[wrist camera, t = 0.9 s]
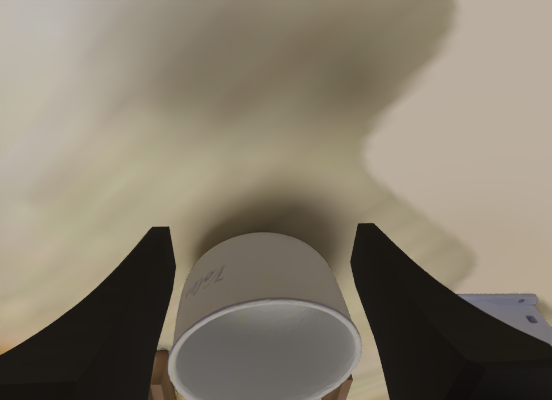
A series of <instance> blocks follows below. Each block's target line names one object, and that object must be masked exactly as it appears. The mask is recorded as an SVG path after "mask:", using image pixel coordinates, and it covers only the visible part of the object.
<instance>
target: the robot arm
mask: <svg viewBox="0 0 552 400" xmlns="http://www.w3.org/2000/svg"><path fill="white" fill-rule="evenodd" d="M350 263H351V268H352V273H353V277H354V282H355V286H356V289H357V291H358V294H359V297H360V300H361V303H362V305H363V308H364V311H365V314H366V316H367V319H368V322H369V325H370V327H371V330H372V333H373V335H374V339H375V342H376V345H377V348H378V352H379V356H380V360H381V364H382V368H383V372H384V377H385V381H386V385H387V390H388V394H389V398H390V400H552V327H551V326H550V325H549V323H548V322H547V321H546V320H545V319H544V317H543V316H542V315H541V314H540V312H539V311H538V310H537V309H536V308H535V306H534V305H535V304H536V302H537V301H538V297H537V296H536V295H535V294H455V293H454V292H452V291H451V290H449V289H448V288H447V287H445V286H444V285H442V284H441V283H440V282H438V281H437V280H436V279H434V278H433V277H432V276H431V275H429V274H428V273H427V272H426V271H424V270H423V269H422V268H421V267H420V266H418V265H417V264H416V263H415V262H414V261H413V260H412V259H410V258H409V257H408V256H407V255H406V254H405V253H404V252H403V251H402V250H401V249H400V248H399V247H398V246H396V245H395V244H394V243H393V242H392V241H391V240H390V239H389V238H388V237H387V236H386V235H385V234H384V233H383V232H382V231H381V230H380V229H379V228H378V227H377V226H376V225H375V224H374V223H358V227H357V231H356V236H355V241H354V246H353V251H352V256H351V261H350ZM175 270H176V263H175V258H174V252H173V246H172V240H171V235H170V229H169V227H152V228H151V229H150V230H149V231H148V232H147V233H146V235H145V236H144V237H143V238H142V239H141V241H140V242H139V243H138V244H137V245H136V247H135V248H134V249H133V250H132V251H131V252H130V253H129V255H128V256H127V257H126V258H125V259H124V260H123V261H122V262H121V263H120V265H119V266H118V267H117V268H116V269H115V270H114V271H113V272H112V273H111V274H110V275H109V276H108V277H107V278H106V279H105V280H104V281H103V282H102V283H101V284H100V285H99V286H98V287H97V288H95V289H94V290H93V291H92V292H91V293H90V294H89V295H88V296H86V297H85V298H84V299H83V300H82V301H81V302H79V303H78V304H77V305H76V306H74V307H73V308H72V309H70V310H69V311H68V312H66V313H65V314H64V315H62V316H61V317H60V318H58V319H57V320H56V321H54V322H53V323H51V324H50V325H49V326H47V327H46V328H44V329H43V330H41V331H40V332H38V333H37V334H35V335H33V336H32V337H30V338H29V339H27V340H26V341H24V342H22V343H21V344H19V345H17V346H16V347H14V348H12V349H11V350H9V351H7V352H5V353H4V354H2V355H0V400H148V396H149V390H150V383H151V377H152V371H153V365H154V359H155V354H156V350H157V346H158V342H159V338H160V335H161V331H162V327H163V324H164V320H165V317H166V313H167V310H168V306H169V302H170V298H171V295H172V291H173V285H174V278H175Z"/></svg>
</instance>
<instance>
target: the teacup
mask: <svg viewBox="0 0 552 400" xmlns="http://www.w3.org/2000/svg"><path fill="white" fill-rule="evenodd" d="M361 352H362V344H361V338H360V334H359V332H358V330H357V328H356V326H355V325H354V323H353V322H352V320H351V317H350V314H349V311H348V309H347V306H346V303H345V300H344V298H343V295H342V293H341V291H340V288H339V286H338V283H337V281H336V279H335V276H334V274H333V273H332V271H331V269H330V267H329V265H328V264H327V262H326V261H325V259H324V258H323V257H322V256H321V255H320V254H319V253H318V252H317V251H316V250H315V249H313V248H312V247H311V246H310V245H308V244H306V243H305V242H303V241H301V240H298V239H296V238H294V237H291V236H288V235H284V234H278V233H270V232H256V233H248V234H244V235H240V236H236V237H233V238H230V239H228V240H225V241H223V242H221V243H219V244H218V245H216V246H214V247H213V248H211V249H210V250H209V251H207V252H206V253H205V254H204V255H203V256H202V257H201V258H200V259H199V260H198V261H197V262H196V264H195V265H194V266H193V268H192V269H191V271H190V273H189V274H188V277H187V279H186V281H185V284H184V287H183V290H182V294H181V298H180V303H179V308H178V313H177V319H176V325H175V332H174V340H173V346H172V348H171V351H170V353H169V358H168V375H169V376H170V381H171V382H172V383H173V385H174V386H175V388H176V390H177V391H178V392H179V393H180V394H181V395H182V396H183V397H185V398H186V399H188V400H317V399H319V398H321V397H323V396H325V395H326V394H328V393H329V392H331V391H333V390H334V389H336V388H337V387H339V386H340V384H341V383H343V382H344V381H345V380H346V379H347V378H348V377H349V376H350V374H351V373H352V372H353V371H354V370H355V368H356V366H357V364H358V362H359V360H360V357H361Z"/></svg>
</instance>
